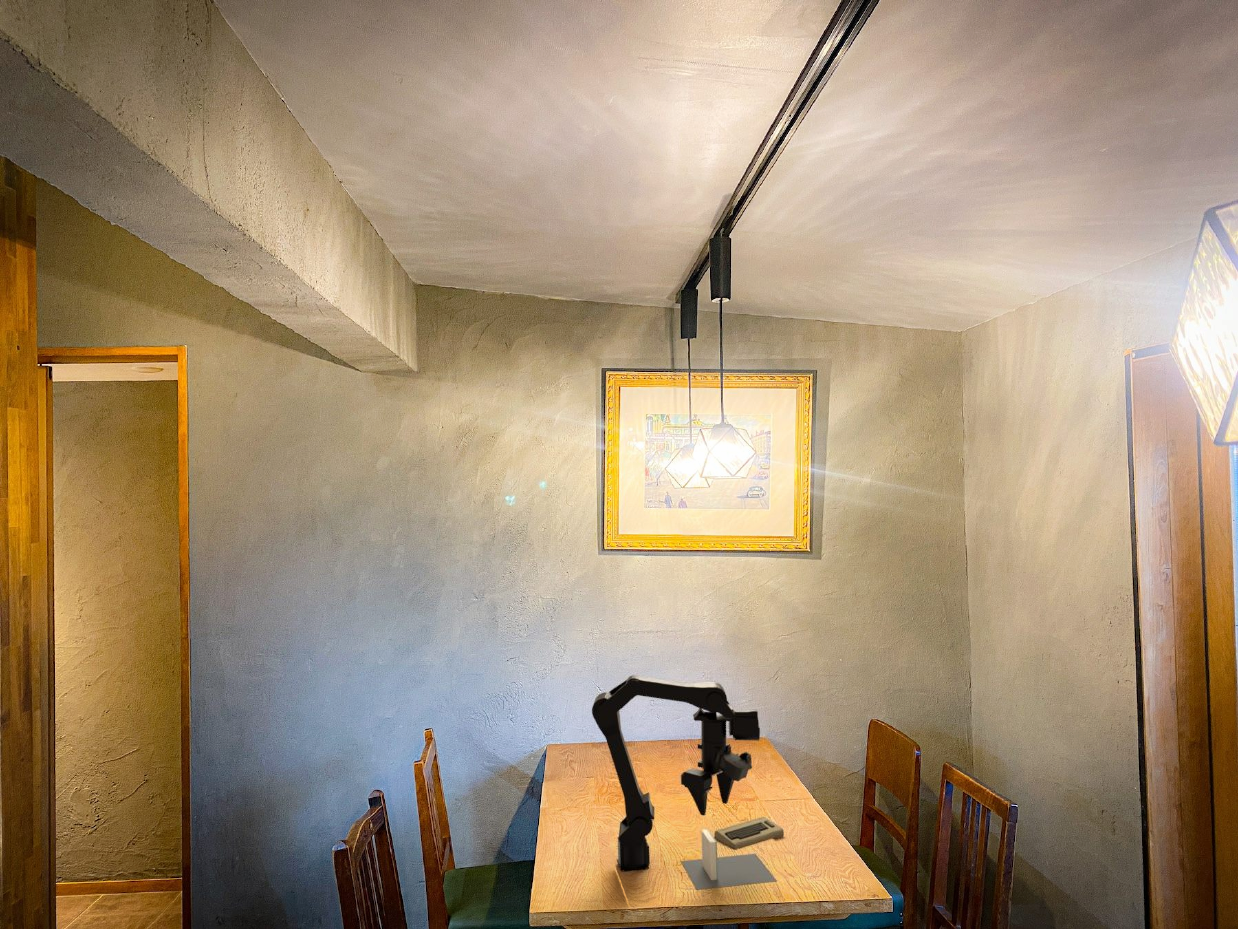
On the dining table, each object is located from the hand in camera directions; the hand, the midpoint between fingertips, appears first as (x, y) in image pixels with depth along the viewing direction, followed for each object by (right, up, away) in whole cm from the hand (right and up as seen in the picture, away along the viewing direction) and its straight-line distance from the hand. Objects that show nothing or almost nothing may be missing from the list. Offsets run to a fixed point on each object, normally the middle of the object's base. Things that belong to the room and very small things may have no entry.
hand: (714, 809), depth 178 cm
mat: (+2, -12, -4) cm, 13 cm away
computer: (+10, -14, +14) cm, 23 cm away
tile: (-1, -12, -5) cm, 13 cm away
